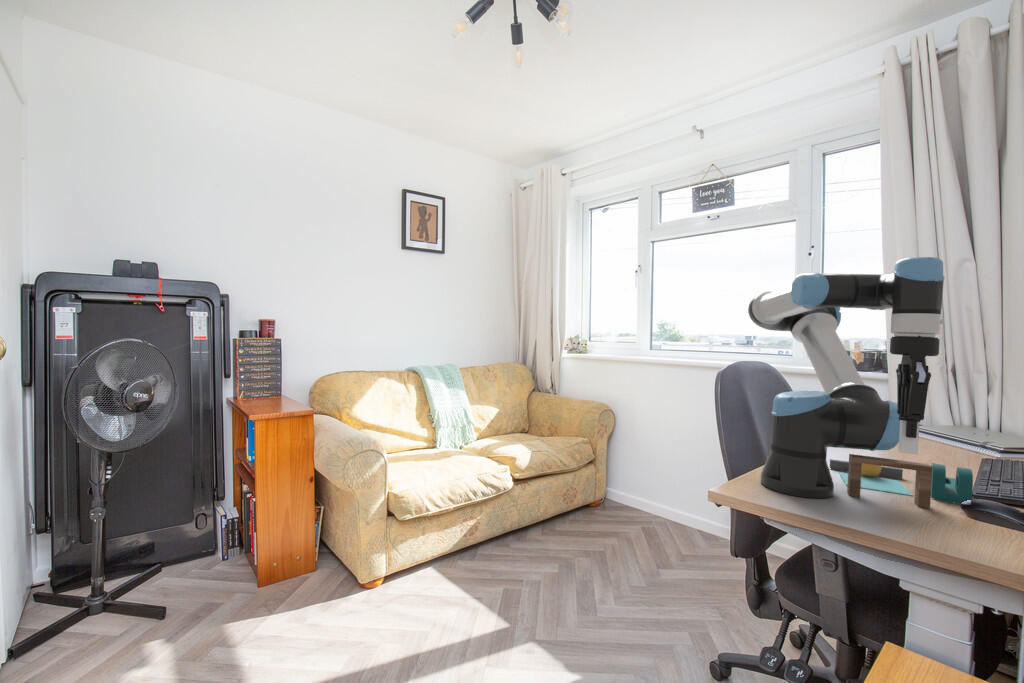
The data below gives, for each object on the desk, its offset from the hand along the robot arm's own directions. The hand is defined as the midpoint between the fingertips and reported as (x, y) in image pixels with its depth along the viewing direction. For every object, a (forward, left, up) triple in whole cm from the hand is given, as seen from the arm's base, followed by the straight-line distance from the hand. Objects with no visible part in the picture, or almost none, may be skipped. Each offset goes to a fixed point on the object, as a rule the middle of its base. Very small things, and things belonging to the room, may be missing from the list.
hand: (907, 452), depth 95 cm
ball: (0, +35, -11) cm, 37 cm away
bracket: (+15, +30, -14) cm, 37 cm away
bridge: (0, +14, -14) cm, 20 cm away
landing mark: (0, +28, -14) cm, 31 cm away
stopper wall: (0, +39, -14) cm, 41 cm away
